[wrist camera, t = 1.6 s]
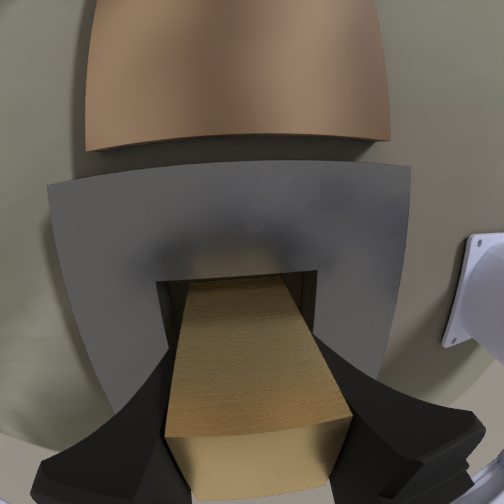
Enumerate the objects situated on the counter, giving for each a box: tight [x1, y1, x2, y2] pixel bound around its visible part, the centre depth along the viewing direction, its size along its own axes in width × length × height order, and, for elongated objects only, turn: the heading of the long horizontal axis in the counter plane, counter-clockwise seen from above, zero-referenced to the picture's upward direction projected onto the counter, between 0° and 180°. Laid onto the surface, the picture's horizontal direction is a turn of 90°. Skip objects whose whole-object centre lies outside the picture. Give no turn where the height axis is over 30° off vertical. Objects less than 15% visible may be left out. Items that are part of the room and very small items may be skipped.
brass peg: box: [165, 276, 353, 500], centre depth 9 cm, size 4×4×8 cm
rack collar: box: [47, 160, 411, 414], centre depth 12 cm, size 14×14×2 cm
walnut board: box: [85, 0, 391, 152], centre depth 8 cm, size 12×10×1 cm
